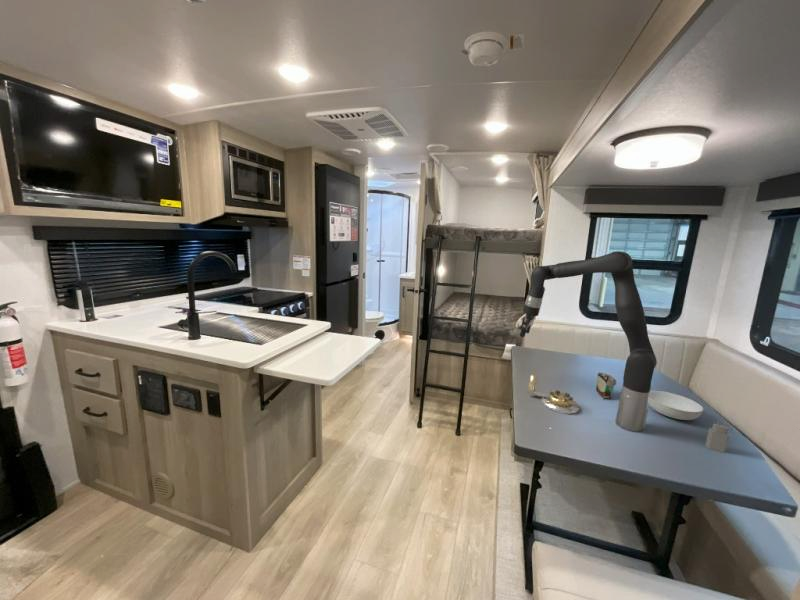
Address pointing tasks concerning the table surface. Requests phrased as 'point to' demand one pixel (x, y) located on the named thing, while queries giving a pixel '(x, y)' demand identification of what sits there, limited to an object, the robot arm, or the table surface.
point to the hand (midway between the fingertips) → (524, 334)
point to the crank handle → (554, 397)
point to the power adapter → (717, 437)
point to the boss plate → (559, 409)
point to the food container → (605, 385)
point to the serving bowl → (674, 405)
